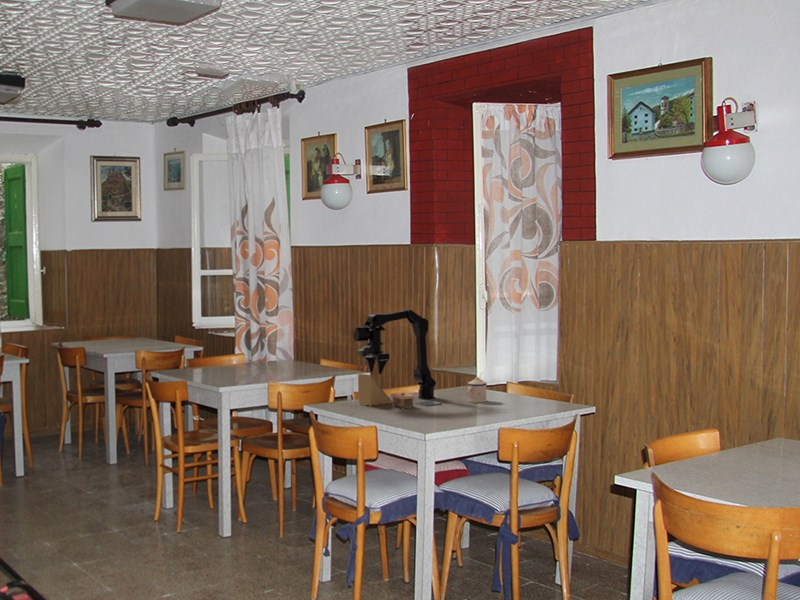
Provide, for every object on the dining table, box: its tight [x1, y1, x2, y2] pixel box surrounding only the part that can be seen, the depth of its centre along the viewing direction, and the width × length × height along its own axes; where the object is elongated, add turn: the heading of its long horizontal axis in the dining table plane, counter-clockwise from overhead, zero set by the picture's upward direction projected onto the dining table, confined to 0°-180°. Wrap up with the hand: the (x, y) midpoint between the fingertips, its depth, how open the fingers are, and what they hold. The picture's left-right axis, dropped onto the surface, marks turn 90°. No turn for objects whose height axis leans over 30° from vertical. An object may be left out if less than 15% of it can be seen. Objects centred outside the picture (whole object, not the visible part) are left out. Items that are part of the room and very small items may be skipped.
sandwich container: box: [357, 373, 393, 407], centre depth 433 cm, size 9×15×15 cm, turn 136°
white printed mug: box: [466, 376, 487, 404], centre depth 435 cm, size 12×9×12 cm
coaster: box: [415, 400, 443, 407], centre depth 430 cm, size 9×9×1 cm
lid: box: [390, 392, 416, 399], centre depth 423 cm, size 11×7×3 cm, turn 29°
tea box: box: [392, 397, 414, 409], centre depth 423 cm, size 10×5×4 cm, turn 29°
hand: (375, 373), depth 432 cm, fingers open, 9 cm apart
